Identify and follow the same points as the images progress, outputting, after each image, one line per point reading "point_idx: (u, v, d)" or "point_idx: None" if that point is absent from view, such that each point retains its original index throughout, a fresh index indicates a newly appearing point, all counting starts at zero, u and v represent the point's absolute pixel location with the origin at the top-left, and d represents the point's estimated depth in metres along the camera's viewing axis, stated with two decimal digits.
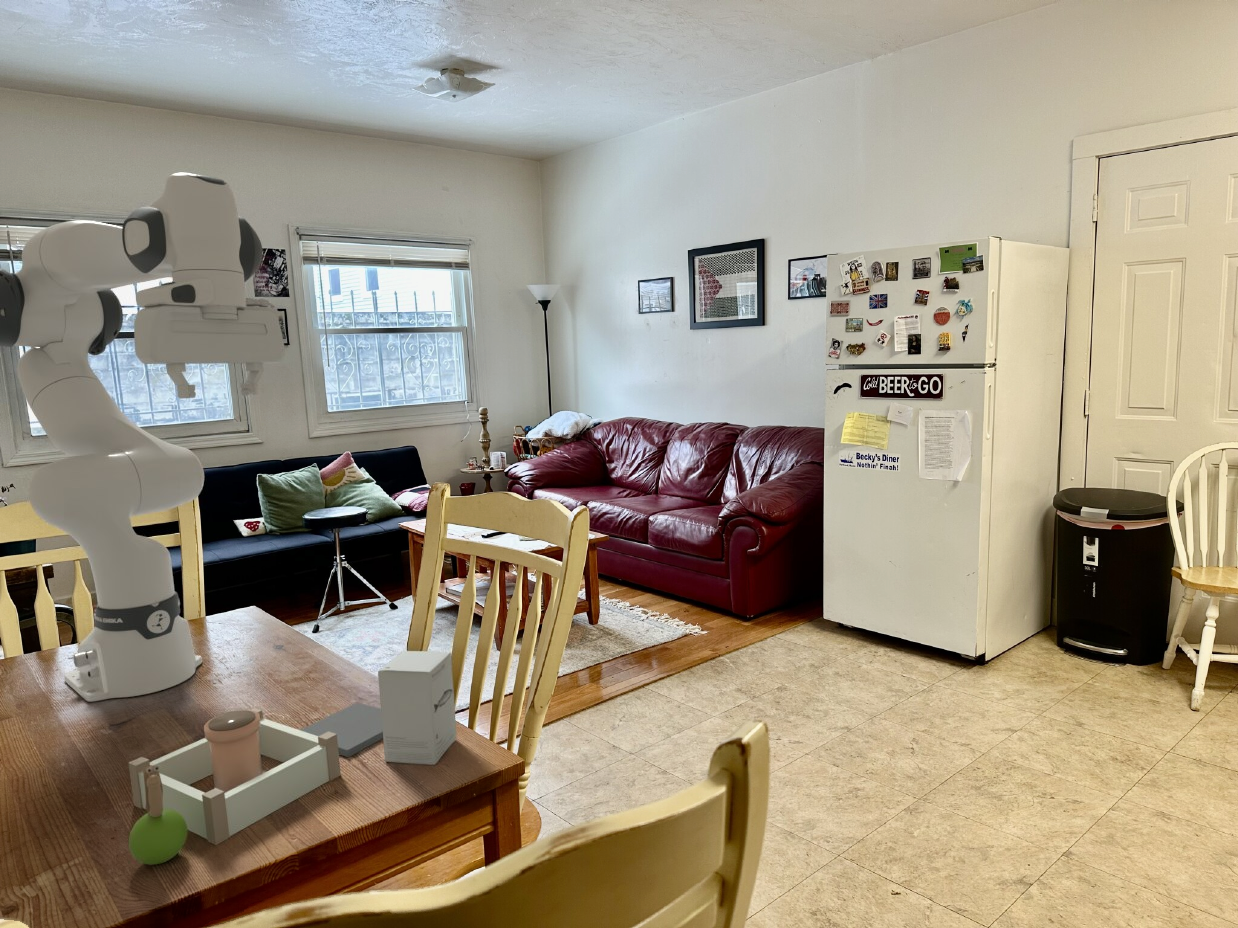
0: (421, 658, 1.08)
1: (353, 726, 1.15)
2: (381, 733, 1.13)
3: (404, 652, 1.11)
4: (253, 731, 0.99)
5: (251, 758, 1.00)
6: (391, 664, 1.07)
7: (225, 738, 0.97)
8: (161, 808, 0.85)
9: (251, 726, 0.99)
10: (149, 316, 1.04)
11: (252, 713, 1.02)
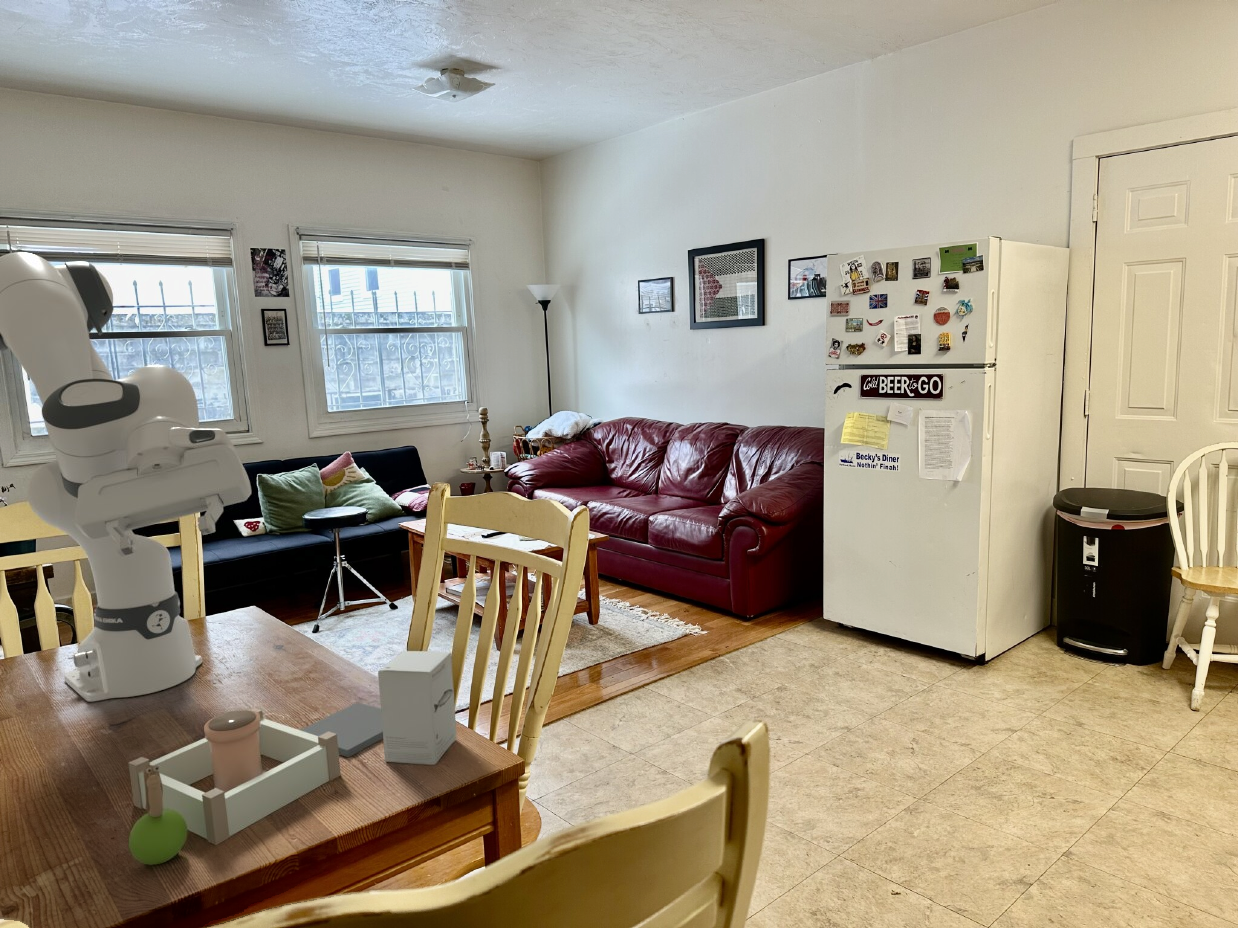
0: (421, 658, 1.08)
1: (353, 726, 1.15)
2: (381, 733, 1.13)
3: (404, 652, 1.11)
4: (253, 731, 0.99)
5: (251, 758, 1.00)
6: (391, 664, 1.07)
7: (225, 738, 0.97)
8: (161, 808, 0.85)
9: (251, 726, 0.99)
10: None
11: (252, 713, 1.02)
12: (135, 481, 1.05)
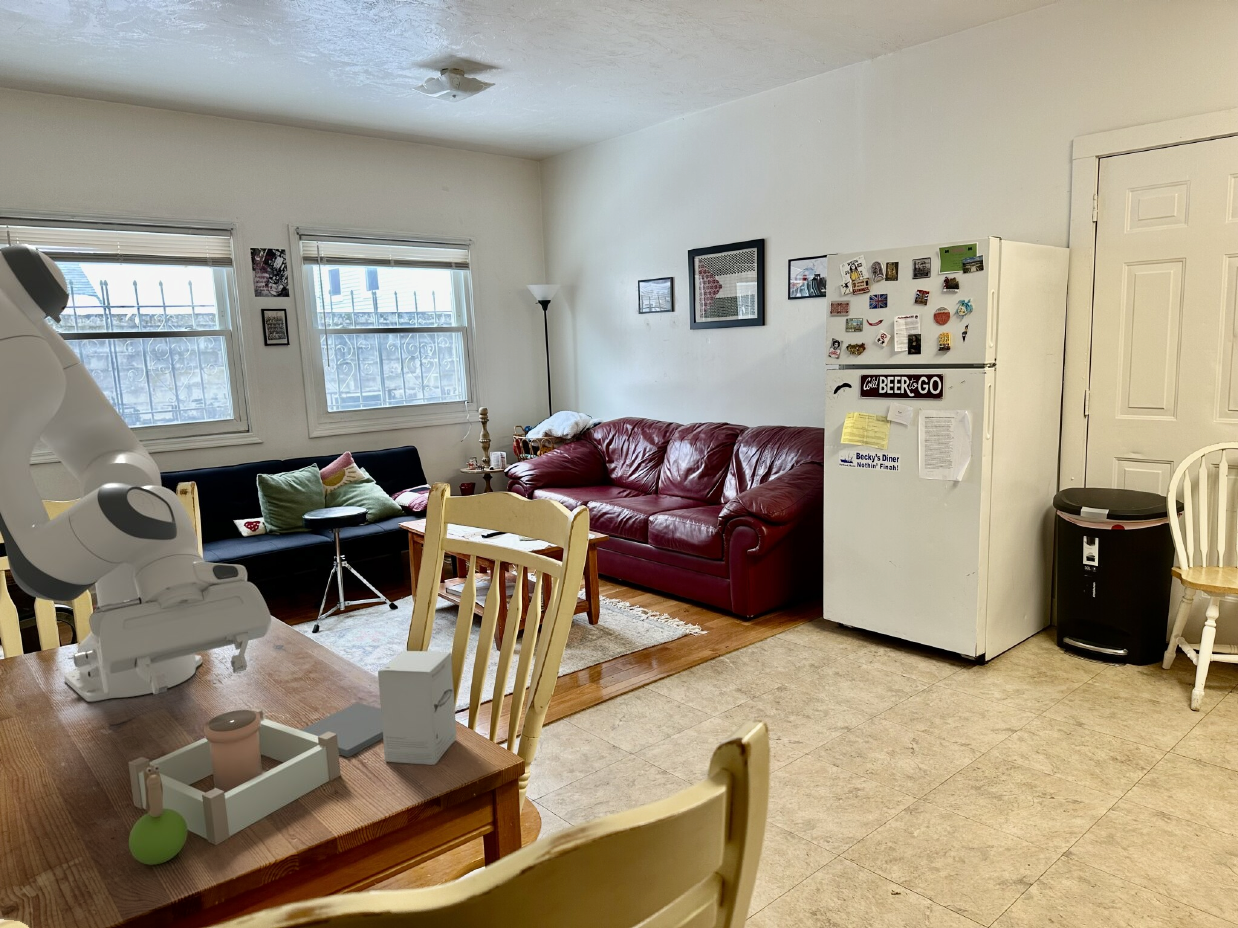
0: (421, 658, 1.08)
1: (353, 726, 1.15)
2: (381, 733, 1.13)
3: (404, 652, 1.11)
4: (254, 731, 0.99)
5: (251, 758, 1.00)
6: (391, 664, 1.07)
7: (226, 738, 0.97)
8: (161, 808, 0.85)
9: (252, 726, 0.99)
10: None
11: (252, 713, 1.02)
12: (159, 615, 1.07)
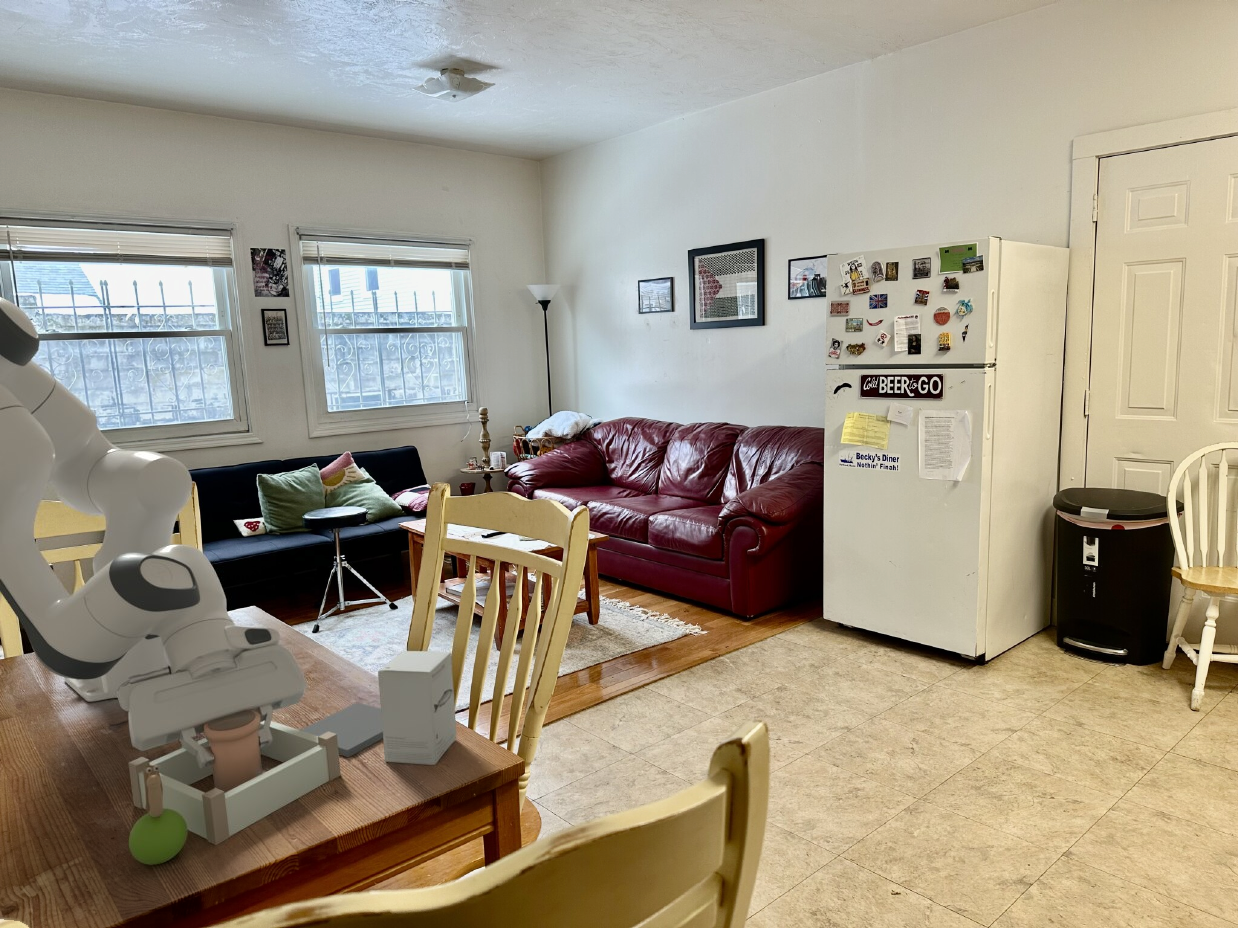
0: (421, 658, 1.08)
1: (353, 726, 1.15)
2: (381, 733, 1.13)
3: (404, 652, 1.11)
4: (254, 730, 1.00)
5: (251, 757, 1.00)
6: (391, 664, 1.07)
7: (226, 738, 0.97)
8: (161, 808, 0.85)
9: (252, 725, 0.99)
10: None
11: (252, 713, 1.02)
12: (190, 685, 1.02)
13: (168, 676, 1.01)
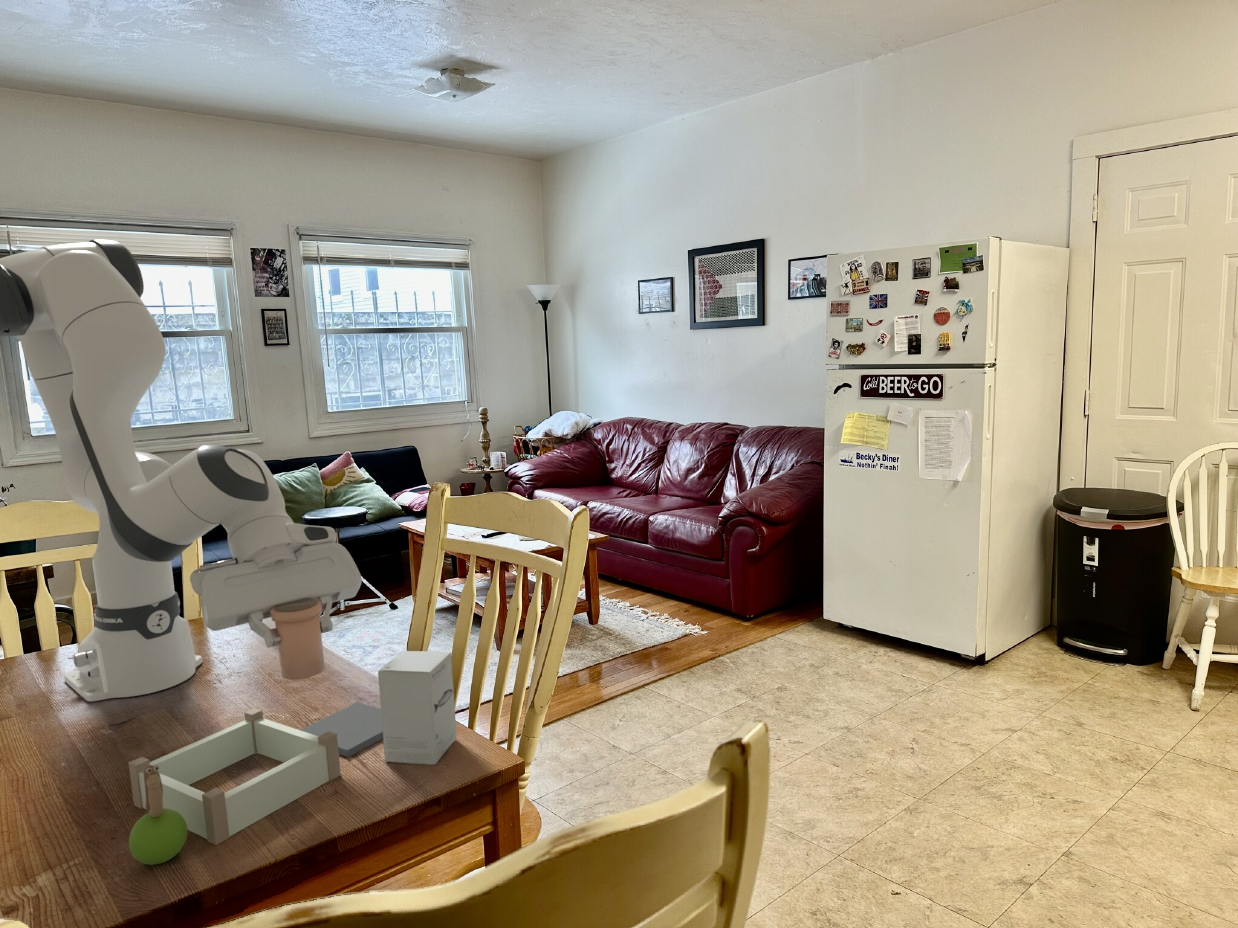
0: (421, 658, 1.08)
1: (353, 726, 1.15)
2: (381, 733, 1.13)
3: (404, 652, 1.11)
4: (317, 614, 1.07)
5: (314, 639, 1.07)
6: (391, 664, 1.07)
7: (292, 618, 1.04)
8: (161, 808, 0.85)
9: (315, 609, 1.06)
10: None
11: (313, 599, 1.09)
12: (256, 574, 1.09)
13: (236, 565, 1.08)
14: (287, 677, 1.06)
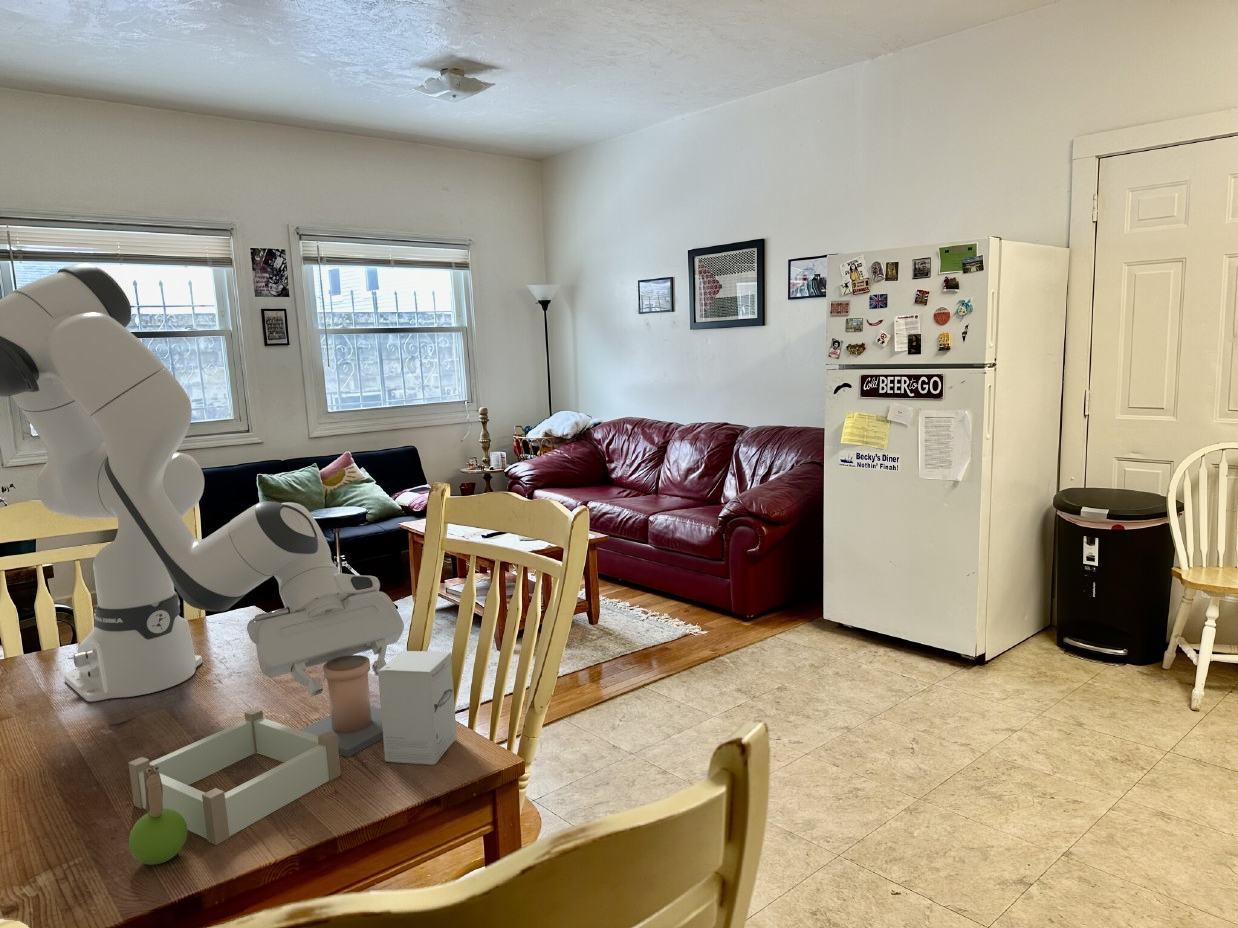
0: (421, 658, 1.08)
1: None
2: (381, 733, 1.13)
3: (404, 652, 1.11)
4: (366, 671, 1.14)
5: (364, 695, 1.14)
6: (391, 664, 1.07)
7: (344, 677, 1.12)
8: (161, 808, 0.85)
9: (365, 667, 1.14)
10: None
11: (362, 657, 1.16)
12: (308, 623, 1.16)
13: (289, 615, 1.15)
14: (338, 731, 1.14)
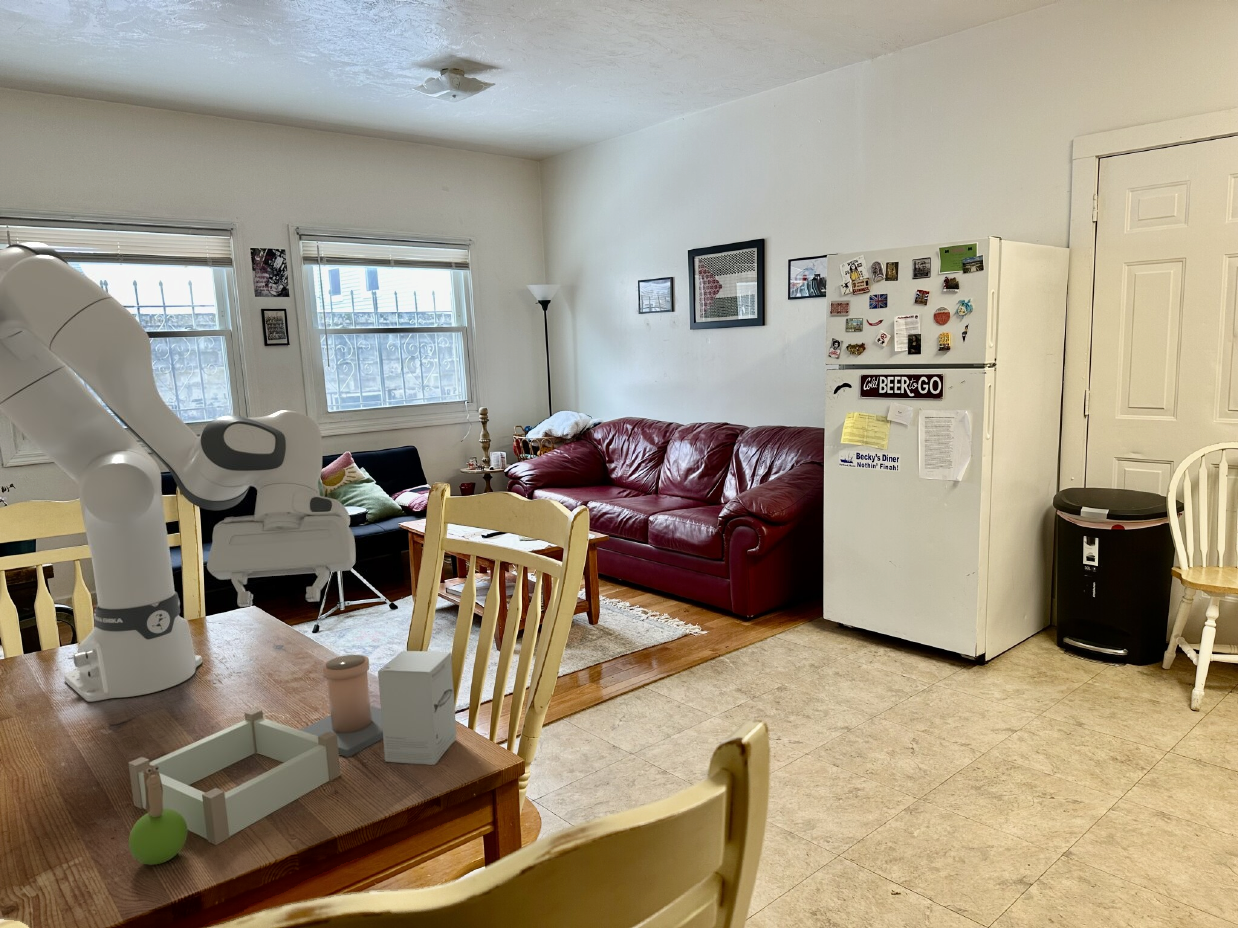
0: (421, 658, 1.08)
1: None
2: (381, 733, 1.13)
3: (404, 652, 1.11)
4: (365, 670, 1.14)
5: (364, 694, 1.14)
6: (391, 664, 1.07)
7: (344, 675, 1.12)
8: (161, 808, 0.85)
9: (364, 665, 1.14)
10: None
11: (361, 656, 1.17)
12: (260, 536, 1.19)
13: (246, 524, 1.20)
14: (338, 730, 1.14)
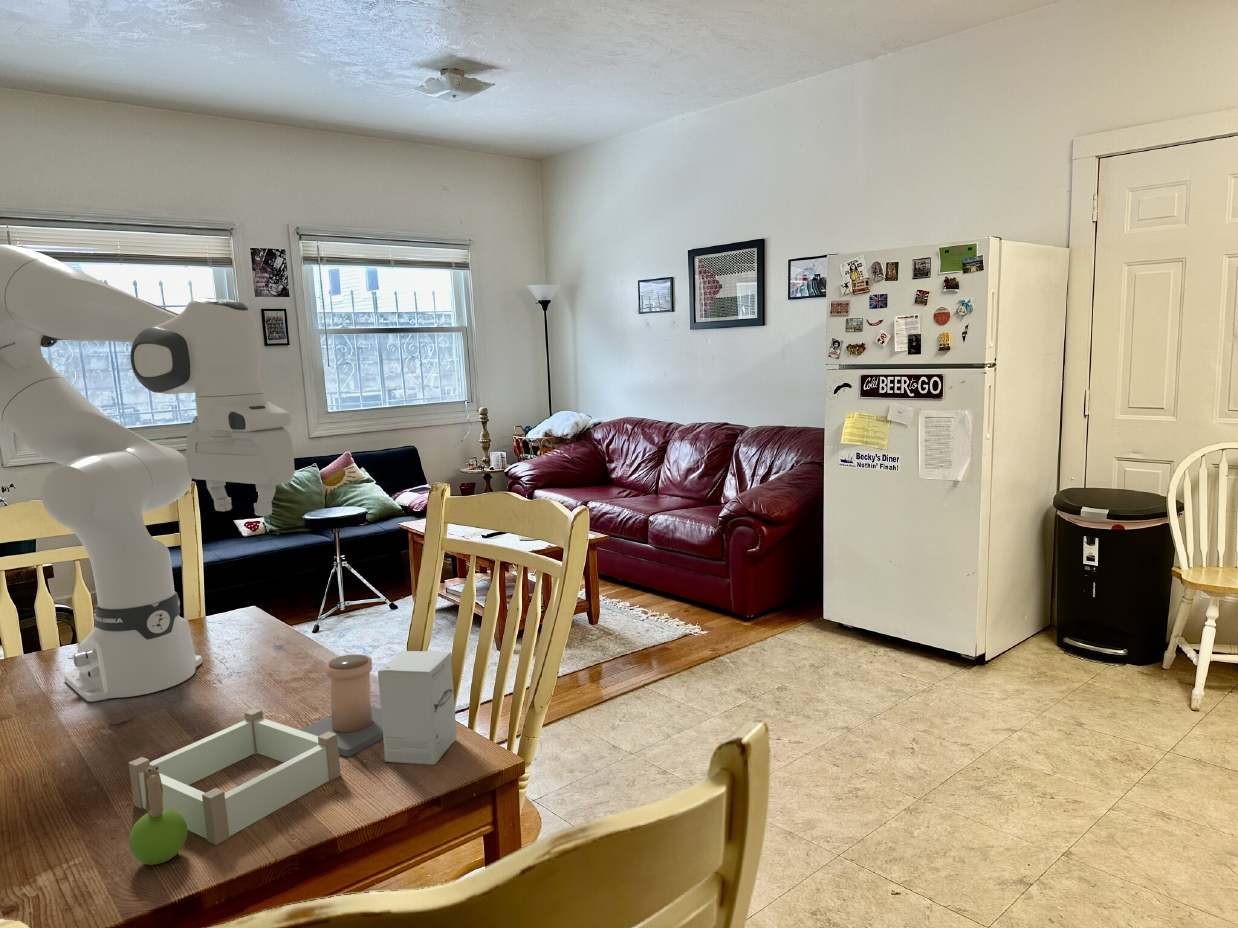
0: (421, 658, 1.08)
1: None
2: (381, 733, 1.13)
3: (404, 652, 1.11)
4: (369, 670, 1.14)
5: (366, 694, 1.15)
6: (391, 664, 1.07)
7: (348, 675, 1.12)
8: (161, 808, 0.85)
9: (368, 666, 1.14)
10: (285, 439, 1.11)
11: (364, 656, 1.17)
12: (213, 445, 1.16)
13: (202, 431, 1.16)
14: (339, 730, 1.14)
